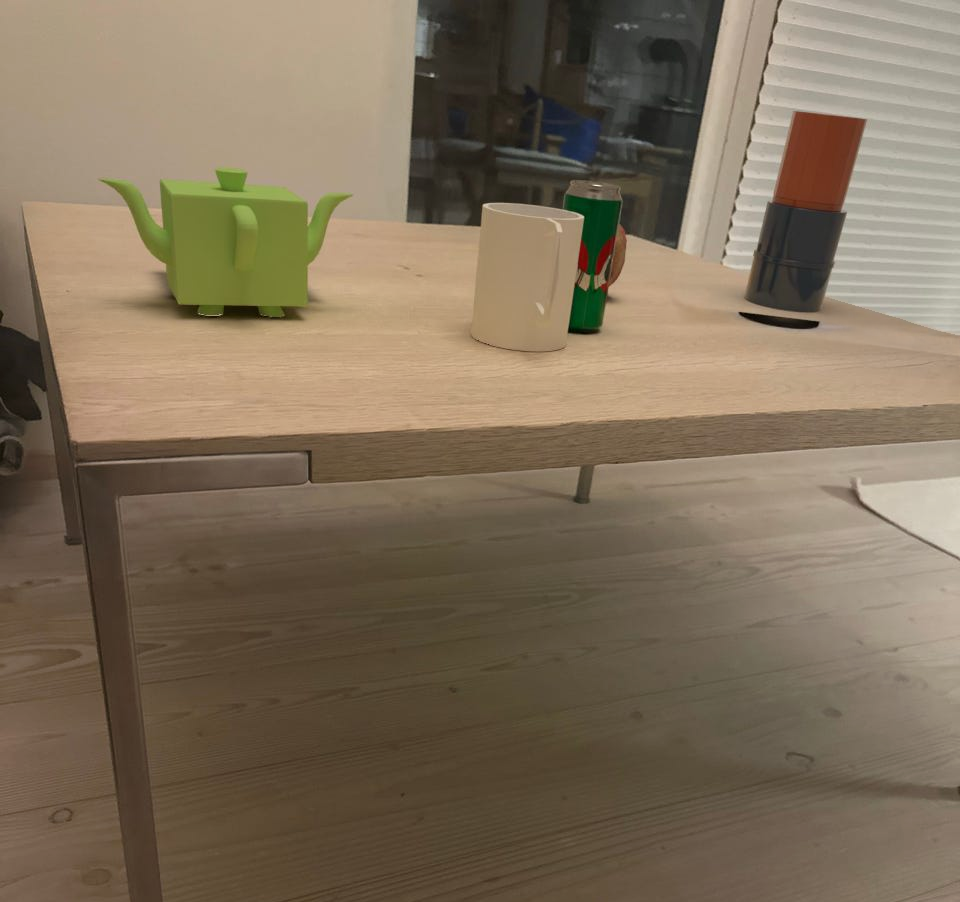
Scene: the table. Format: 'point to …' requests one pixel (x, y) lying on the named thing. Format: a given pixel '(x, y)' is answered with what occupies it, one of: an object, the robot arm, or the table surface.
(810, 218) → the cup stack
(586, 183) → the soda can
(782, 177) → the terracotta cup
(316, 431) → the table surface
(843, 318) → the table surface
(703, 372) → the table surface
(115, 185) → the teapot
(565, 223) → the cup
